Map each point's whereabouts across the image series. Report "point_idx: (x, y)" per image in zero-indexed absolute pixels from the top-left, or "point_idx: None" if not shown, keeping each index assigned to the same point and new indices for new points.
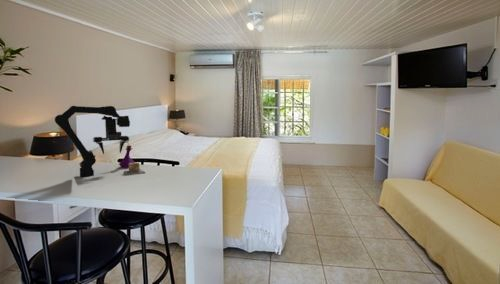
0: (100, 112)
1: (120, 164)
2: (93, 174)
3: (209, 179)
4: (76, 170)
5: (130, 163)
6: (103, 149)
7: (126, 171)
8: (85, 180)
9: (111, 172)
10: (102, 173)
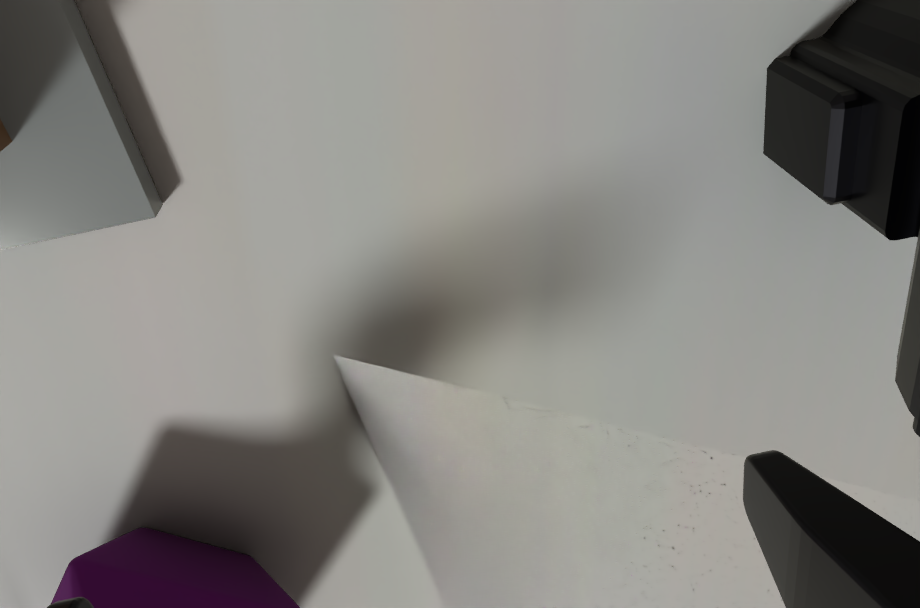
0: None
1: (277, 604)
2: (789, 64)
3: None
4: None
5: None
6: (896, 602)
7: (71, 134)
8: None
9: (426, 286)
10: (592, 242)
